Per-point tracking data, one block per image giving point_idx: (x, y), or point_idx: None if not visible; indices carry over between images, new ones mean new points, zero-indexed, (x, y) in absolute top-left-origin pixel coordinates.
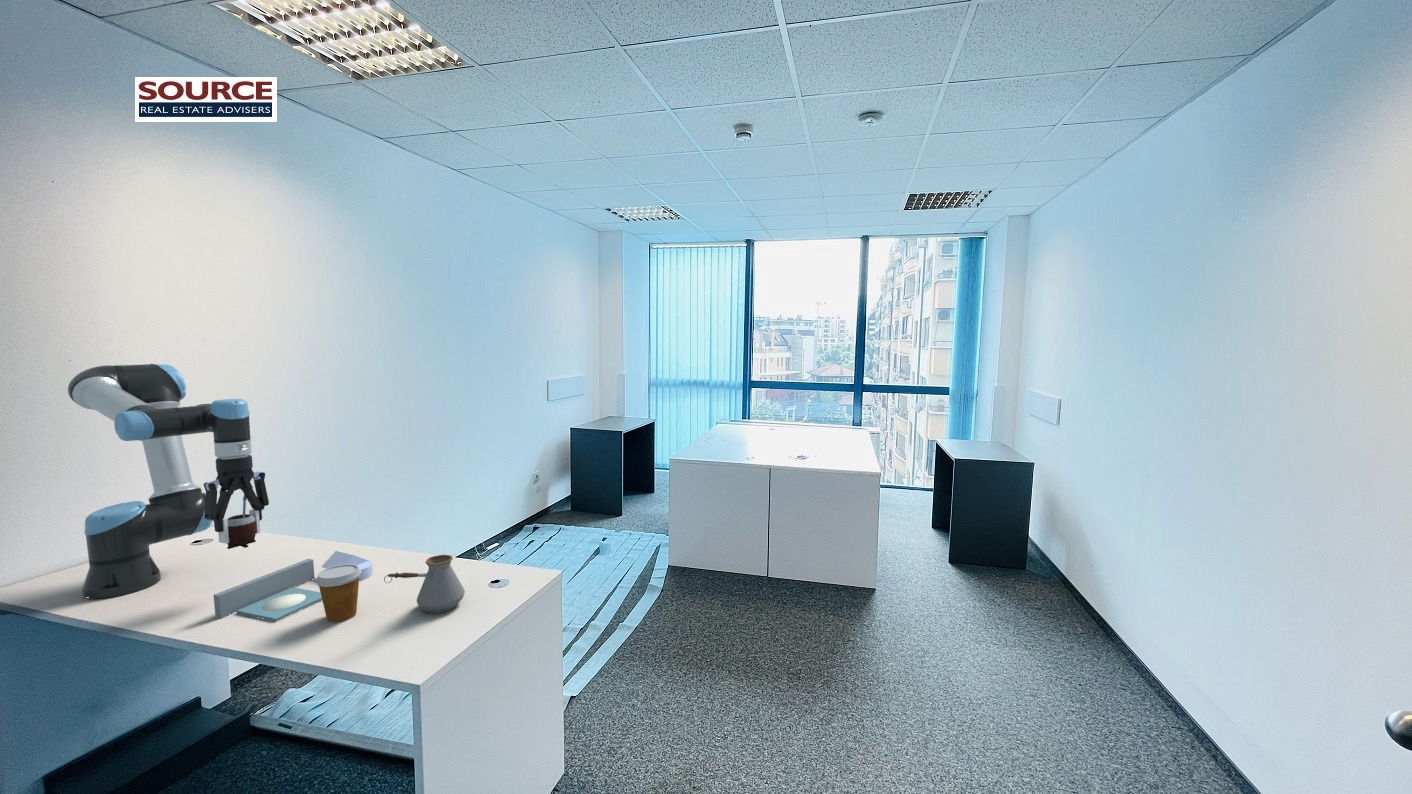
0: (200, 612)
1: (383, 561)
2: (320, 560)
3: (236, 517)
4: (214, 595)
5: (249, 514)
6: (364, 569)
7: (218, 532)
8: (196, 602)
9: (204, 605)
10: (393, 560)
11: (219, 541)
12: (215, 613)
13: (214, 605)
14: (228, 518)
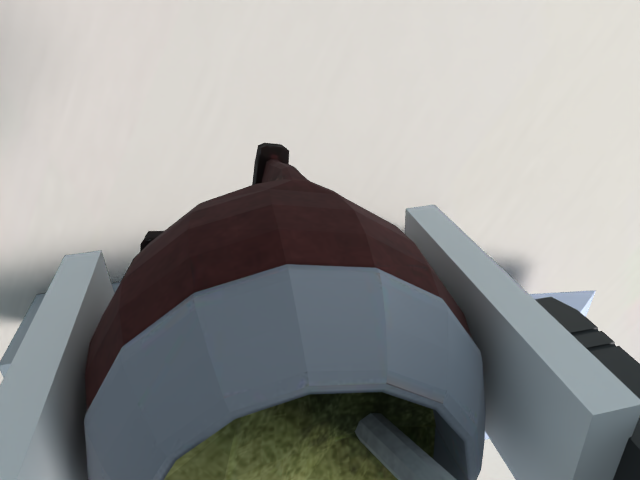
0: (7, 180)
1: (614, 319)
2: (613, 62)
3: (342, 368)
4: (2, 368)
5: (474, 478)
6: (488, 437)
7: (27, 335)
8: (31, 14)
9: (47, 106)
10: (624, 339)
11: (64, 268)
12: (31, 307)
13: (18, 329)
14: (177, 459)
